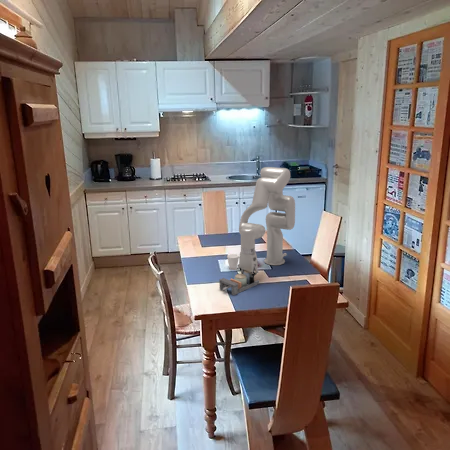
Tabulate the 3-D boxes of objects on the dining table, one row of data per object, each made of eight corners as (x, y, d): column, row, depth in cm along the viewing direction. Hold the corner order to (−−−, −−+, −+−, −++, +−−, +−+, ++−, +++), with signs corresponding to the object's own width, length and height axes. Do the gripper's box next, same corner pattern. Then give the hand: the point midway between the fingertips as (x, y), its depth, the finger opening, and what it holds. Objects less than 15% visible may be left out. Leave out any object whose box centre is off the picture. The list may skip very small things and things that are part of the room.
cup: (227, 266, 253) (226, 253, 251) (243, 265, 253) (243, 253, 251) (227, 270, 246) (227, 257, 244) (244, 270, 247) (244, 257, 244)
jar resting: (240, 282, 230) (240, 272, 228) (249, 286, 225) (249, 275, 223) (232, 286, 225) (232, 275, 224) (240, 290, 221) (240, 279, 219)
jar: (247, 279, 232) (247, 268, 230) (254, 282, 229) (254, 270, 227) (241, 282, 229) (241, 270, 227) (248, 285, 225) (248, 273, 223)
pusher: (231, 285, 225) (231, 278, 224) (241, 289, 220) (241, 282, 219) (218, 291, 219) (218, 283, 218) (228, 295, 214) (228, 288, 213)
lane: (245, 278, 235) (245, 269, 233) (259, 283, 228) (259, 274, 226) (219, 289, 222) (219, 279, 220) (233, 295, 214) (233, 285, 213)
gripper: (264, 252, 220) (264, 283, 225) (241, 244, 232) (241, 275, 237) (255, 255, 215) (255, 288, 220) (231, 248, 227) (232, 279, 232)
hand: (248, 281), depth 229 cm, fingers closed on jar, 5 cm apart
